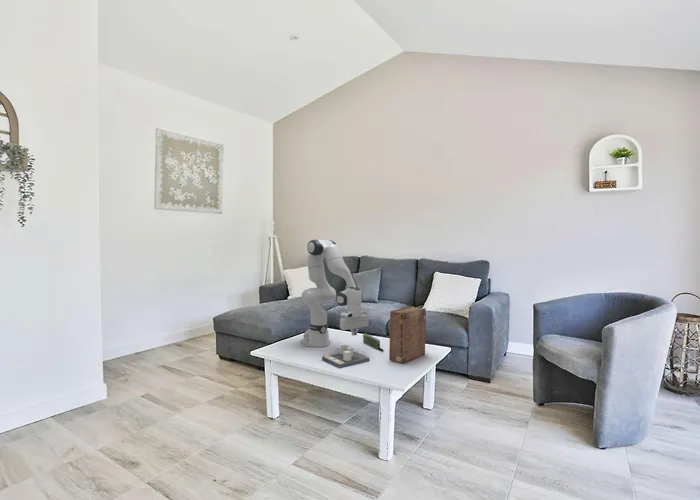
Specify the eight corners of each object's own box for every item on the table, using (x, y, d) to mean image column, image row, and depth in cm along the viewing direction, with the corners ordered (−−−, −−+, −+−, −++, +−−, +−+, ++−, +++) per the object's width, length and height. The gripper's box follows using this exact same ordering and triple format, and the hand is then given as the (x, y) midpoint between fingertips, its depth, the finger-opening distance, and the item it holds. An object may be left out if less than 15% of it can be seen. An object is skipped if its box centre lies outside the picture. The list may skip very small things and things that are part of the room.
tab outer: (343, 360, 226) (343, 351, 225) (347, 358, 228) (348, 350, 227) (346, 361, 223) (346, 352, 223) (351, 360, 225) (351, 351, 225)
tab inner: (340, 353, 238) (340, 345, 238) (345, 352, 240) (345, 344, 240) (343, 354, 235) (343, 346, 235) (348, 353, 238) (348, 345, 237)
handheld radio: (366, 342, 273) (385, 352, 251) (362, 343, 272) (380, 352, 249) (366, 332, 273) (385, 341, 250) (362, 333, 271) (380, 342, 249)
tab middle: (345, 355, 234) (346, 347, 233) (350, 354, 236) (350, 346, 235) (349, 357, 231) (349, 348, 231) (353, 356, 233) (353, 347, 233)
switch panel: (322, 359, 232) (322, 356, 232) (351, 353, 245) (351, 350, 245) (339, 368, 218) (339, 364, 218) (369, 361, 231) (369, 357, 231)
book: (412, 351, 252) (414, 305, 251) (425, 354, 245) (426, 307, 244) (389, 360, 233) (390, 311, 232) (401, 364, 227) (402, 313, 226)
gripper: (364, 310, 250) (364, 331, 250) (338, 314, 237) (338, 336, 238) (370, 311, 245) (370, 333, 245) (344, 315, 232) (344, 338, 233)
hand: (354, 335), depth 241 cm, fingers closed
